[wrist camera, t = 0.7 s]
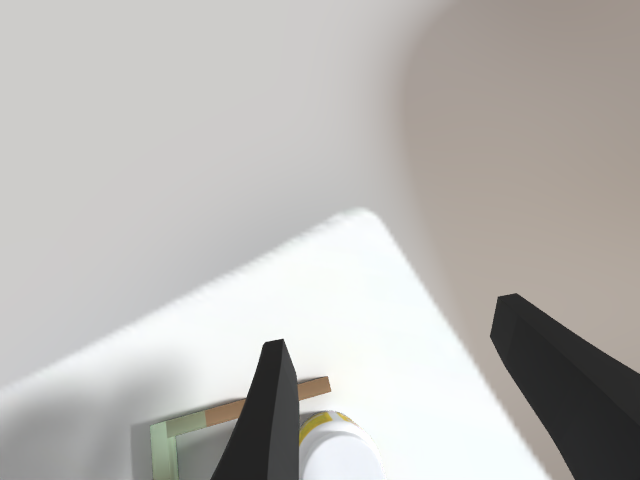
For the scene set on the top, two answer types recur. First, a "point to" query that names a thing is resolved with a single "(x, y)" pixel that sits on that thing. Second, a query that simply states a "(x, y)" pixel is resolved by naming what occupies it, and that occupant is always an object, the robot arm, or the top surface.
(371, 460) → the supplement bottle
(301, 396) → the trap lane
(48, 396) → the top surface
